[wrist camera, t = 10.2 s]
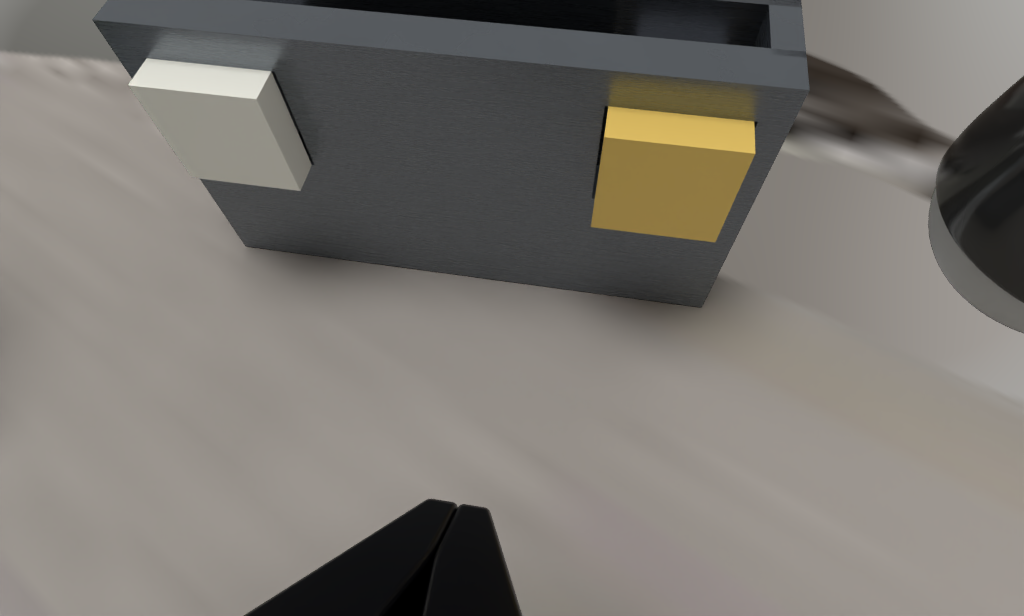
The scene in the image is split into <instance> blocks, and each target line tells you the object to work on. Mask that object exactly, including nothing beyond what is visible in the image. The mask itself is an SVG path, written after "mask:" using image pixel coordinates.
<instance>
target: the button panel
mask: <svg viewBox="0 0 1024 616" xmlns="http://www.w3.org/2000/svg"><path fill="white" fill-rule="evenodd" d="M93 21H94V23H95V24H96V26H97V27H98V29H99V30H100V32H101V33H102V35H103V36H104V38H105V39H106V41H107V42H108V44H109V45H110V46H111V48H112V50H113V51H114V52H115V54H116V55H117V57H118V58H119V60H120V61H121V63H122V64H123V66H124V67H125V69H126V70H127V72H128V73H129V75H130V76H131V78H132V79H133V77H134V76H135V74H136V73H137V71H138V70H139V69H140V67H141V66H142V64H143V63H144V61H145V60H146V58H149V59H158V60H168V61H177V62H187V63H197V64H206V65H216V66H225V67H235V68H245V69H254V70H264V71H274V72H275V74H276V76H277V79H278V81H279V83H280V86H281V88H282V90H283V93H284V95H285V97H286V100H287V102H288V104H289V107H290V109H291V111H292V114H293V116H294V118H295V121H296V123H297V125H298V128H299V130H300V131H299V133H298V134H299V137H300V139H301V141H302V143H303V146H304V148H305V150H306V153H307V155H308V157H309V160H310V162H311V164H312V166H311V168H310V170H309V173H308V175H307V177H306V180H305V182H304V184H303V186H302V189H301V191H296V190H288V189H280V188H272V187H264V186H256V185H247V184H239V183H231V182H223V181H215V180H207V179H200V180H201V181H202V183H203V184H204V185H205V187H206V188H207V190H208V191H209V193H210V194H211V196H212V197H213V199H214V200H215V202H216V203H217V205H218V206H219V208H220V209H221V211H222V212H223V214H224V215H225V217H226V218H227V219H228V221H229V222H230V224H231V225H232V227H233V228H234V230H235V231H236V233H237V234H238V236H239V237H240V239H241V240H242V242H243V243H244V245H245V246H249V247H256V248H264V249H271V250H278V251H286V252H293V253H301V254H308V255H315V256H323V257H330V258H338V259H345V260H353V261H360V262H367V263H375V264H382V265H390V266H397V267H405V268H412V269H419V270H427V271H434V272H442V273H449V274H457V275H464V276H471V277H479V278H486V279H494V280H501V281H509V282H516V283H523V284H531V285H538V286H546V287H553V288H561V289H568V290H575V291H583V292H590V293H598V294H605V295H613V296H620V297H627V298H635V299H642V300H650V301H657V302H665V303H672V304H679V305H687V306H694V307H702V305H703V303H704V301H705V299H706V297H707V295H708V293H709V291H710V289H711V287H712V285H713V283H714V281H715V279H716V277H717V275H718V273H719V271H720V269H721V267H722V265H723V263H724V261H725V259H726V257H727V255H728V253H729V251H730V249H731V247H732V245H733V243H734V241H735V239H736V237H737V235H738V233H739V231H740V229H741V227H742V225H743V223H744V221H745V219H746V217H747V215H748V213H749V211H750V209H751V207H752V205H753V203H754V201H755V199H756V197H757V195H758V193H759V191H760V189H761V186H762V184H763V183H764V181H765V178H766V177H767V175H768V173H769V171H770V169H771V166H772V165H773V163H774V161H775V159H776V157H777V155H778V153H779V151H780V149H781V146H782V144H783V142H784V140H785V138H786V136H787V134H788V132H789V130H790V128H791V126H792V124H793V122H794V120H795V118H796V116H797V114H798V112H799V110H800V108H801V106H802V104H803V102H804V100H805V98H806V96H807V94H808V92H809V79H808V69H807V58H806V48H805V38H804V27H803V16H802V6H801V0H108V1H107V2H106V3H105V4H104V6H103V7H102V8H101V10H100V11H99V12H98V13H97V14H96V16H95V17H94V18H93ZM608 106H610V107H620V108H629V109H639V110H649V111H658V112H668V113H678V114H687V115H697V116H706V117H716V118H726V119H735V120H745V121H754V125H755V156H754V158H753V160H752V162H751V164H750V167H749V169H748V171H747V173H746V176H745V178H744V180H743V182H742V184H741V187H740V189H739V191H738V193H737V195H736V198H735V200H734V202H733V204H732V206H731V209H730V211H729V213H728V215H727V218H726V220H725V222H724V224H723V226H722V229H721V231H720V233H719V235H718V237H717V240H716V242H707V241H699V240H691V239H683V238H675V237H667V236H659V235H651V234H643V233H635V232H627V231H619V230H611V229H603V228H595V227H591V222H592V215H593V207H594V200H595V193H596V186H597V179H598V173H599V166H600V159H601V153H602V146H603V139H604V132H605V126H606V119H607V112H608Z"/></svg>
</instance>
